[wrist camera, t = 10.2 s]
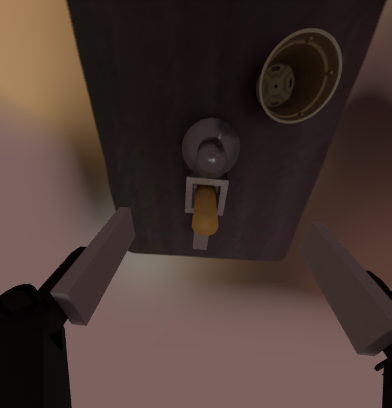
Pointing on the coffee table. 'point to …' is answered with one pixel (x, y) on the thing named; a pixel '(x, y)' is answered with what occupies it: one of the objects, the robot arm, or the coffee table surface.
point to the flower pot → (300, 75)
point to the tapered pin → (205, 211)
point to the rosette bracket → (209, 162)
